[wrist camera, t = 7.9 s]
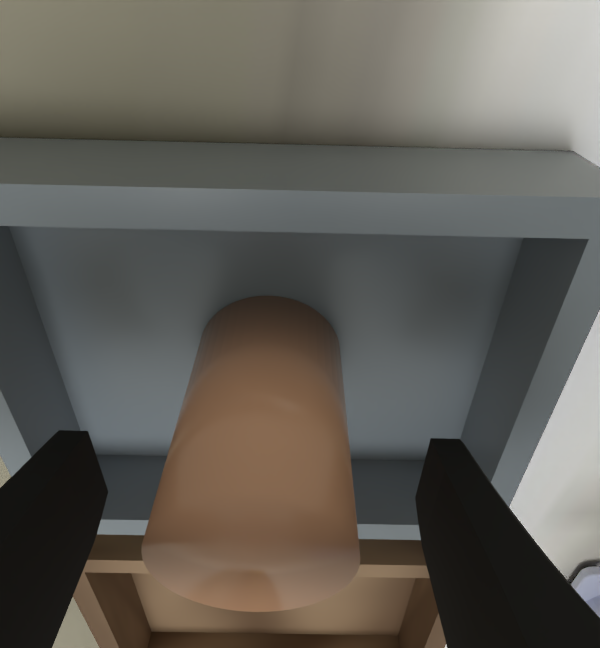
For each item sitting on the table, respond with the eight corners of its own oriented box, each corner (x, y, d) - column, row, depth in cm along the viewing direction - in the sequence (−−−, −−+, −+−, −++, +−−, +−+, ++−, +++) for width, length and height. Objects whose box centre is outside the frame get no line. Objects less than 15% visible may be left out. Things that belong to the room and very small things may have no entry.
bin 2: (457, 488, 18) (481, 566, 16) (409, 629, 25) (420, 699, 23) (87, 481, 18) (53, 559, 16) (141, 625, 25) (123, 694, 23)
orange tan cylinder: (346, 298, 13) (372, 500, 8) (335, 406, 15) (349, 613, 10) (193, 293, 12) (121, 493, 8) (206, 403, 15) (158, 610, 10)
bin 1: (572, 151, 11) (650, 198, 9) (466, 462, 17) (493, 541, 15) (-42, 136, 11) (-142, 180, 8) (77, 455, 17) (40, 533, 15)
